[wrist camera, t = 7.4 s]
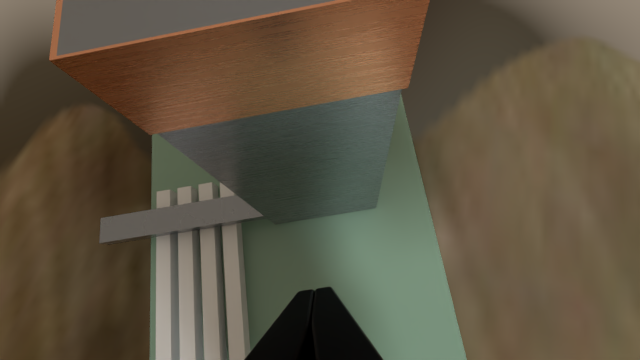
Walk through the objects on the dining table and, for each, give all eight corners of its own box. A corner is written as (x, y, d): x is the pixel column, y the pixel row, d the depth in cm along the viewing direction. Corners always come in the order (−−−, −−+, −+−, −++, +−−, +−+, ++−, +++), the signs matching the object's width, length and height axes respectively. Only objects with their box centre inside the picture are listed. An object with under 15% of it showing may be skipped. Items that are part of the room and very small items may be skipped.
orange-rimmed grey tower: (378, 208, 17) (433, -17, 4) (120, 250, 18) (-451, 159, 5) (352, 76, 19) (338, -312, 7) (125, 118, 20) (-258, -162, 8)
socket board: (483, 448, 14) (532, 510, 10) (158, 488, 15) (87, 559, 11) (393, 78, 20) (402, 25, 16) (159, 121, 21) (112, 81, 17)
